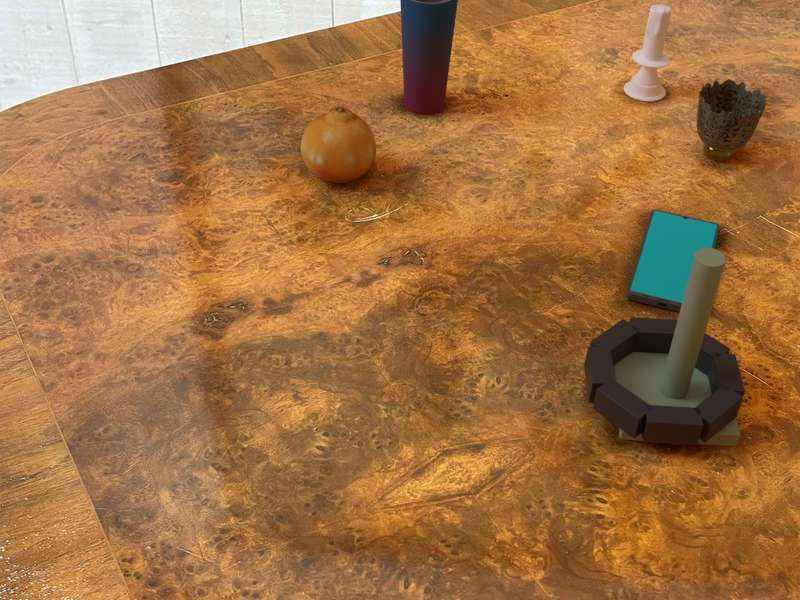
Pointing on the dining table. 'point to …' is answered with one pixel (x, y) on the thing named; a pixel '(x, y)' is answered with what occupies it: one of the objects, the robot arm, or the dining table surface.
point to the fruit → (338, 146)
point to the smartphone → (668, 258)
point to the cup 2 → (727, 117)
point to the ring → (655, 419)
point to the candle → (651, 57)
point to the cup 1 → (426, 52)
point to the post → (681, 352)
